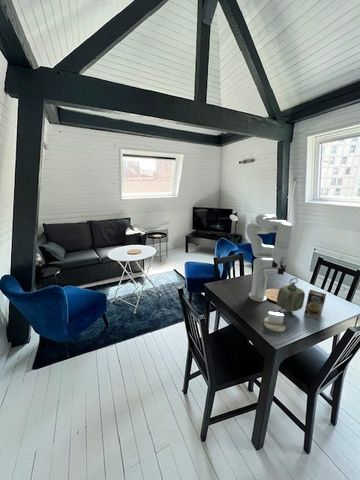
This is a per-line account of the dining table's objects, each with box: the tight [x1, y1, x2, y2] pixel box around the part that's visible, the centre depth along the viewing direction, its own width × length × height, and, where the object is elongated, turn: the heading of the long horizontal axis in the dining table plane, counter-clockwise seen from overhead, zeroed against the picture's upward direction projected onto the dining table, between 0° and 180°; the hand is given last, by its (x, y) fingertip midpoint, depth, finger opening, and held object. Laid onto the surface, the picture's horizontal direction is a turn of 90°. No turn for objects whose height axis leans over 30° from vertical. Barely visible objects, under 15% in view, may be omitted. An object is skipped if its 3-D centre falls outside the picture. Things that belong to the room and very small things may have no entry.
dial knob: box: [267, 311, 286, 325], centre depth 124 cm, size 10×2×6 cm, turn 79°
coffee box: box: [303, 289, 327, 321], centre depth 133 cm, size 9×6×16 cm
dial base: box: [263, 316, 287, 333], centre depth 125 cm, size 12×12×2 cm
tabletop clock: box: [276, 277, 306, 316], centre depth 134 cm, size 14×9×25 cm, turn 113°
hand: (277, 270), depth 126 cm, fingers open, 9 cm apart
